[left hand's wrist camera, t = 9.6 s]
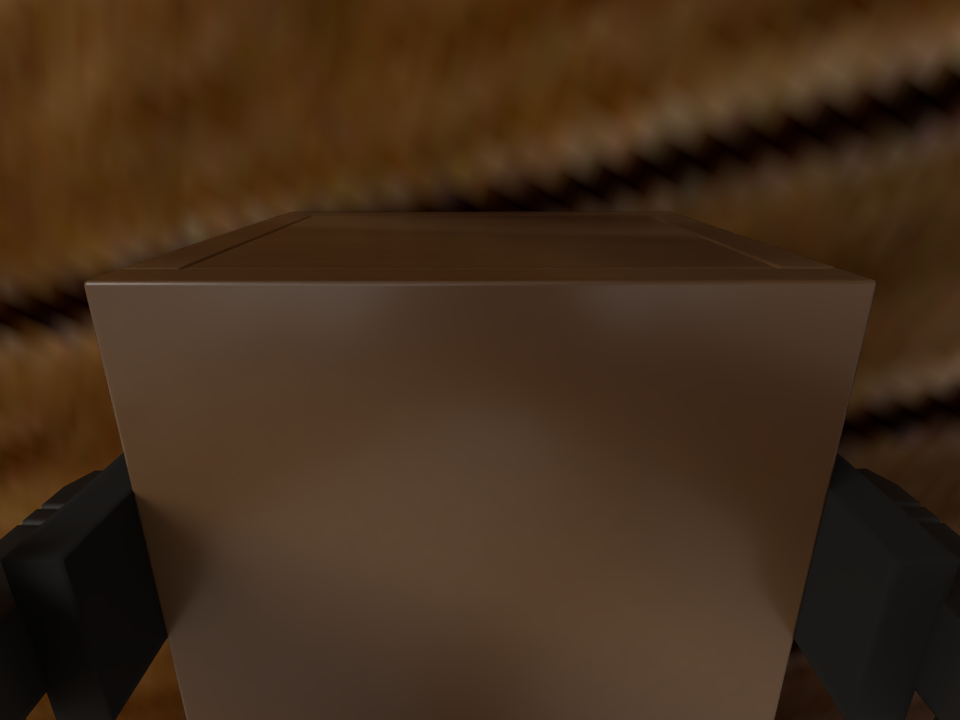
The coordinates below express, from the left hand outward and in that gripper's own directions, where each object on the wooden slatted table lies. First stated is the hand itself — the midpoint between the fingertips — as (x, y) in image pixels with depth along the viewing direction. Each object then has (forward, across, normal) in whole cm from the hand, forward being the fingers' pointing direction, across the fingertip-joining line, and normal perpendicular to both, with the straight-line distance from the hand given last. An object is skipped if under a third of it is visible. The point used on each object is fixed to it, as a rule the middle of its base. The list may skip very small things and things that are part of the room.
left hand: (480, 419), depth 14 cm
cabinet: (+3, 0, -6) cm, 7 cm away
